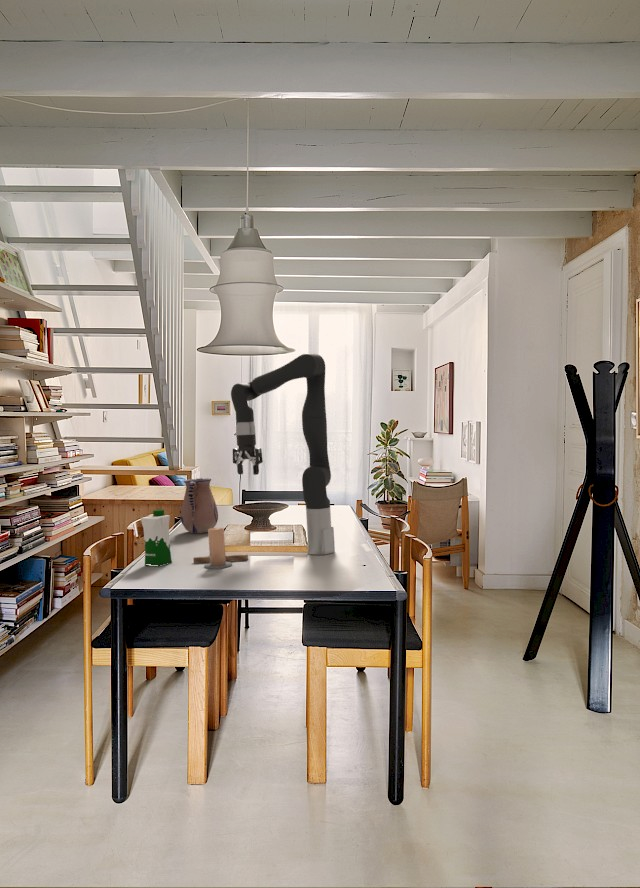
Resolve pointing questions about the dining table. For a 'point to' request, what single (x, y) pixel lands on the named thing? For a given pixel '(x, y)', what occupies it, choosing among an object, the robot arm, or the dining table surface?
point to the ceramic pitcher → (198, 506)
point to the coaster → (218, 566)
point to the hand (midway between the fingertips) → (248, 474)
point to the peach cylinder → (217, 546)
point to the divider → (228, 558)
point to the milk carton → (157, 538)
